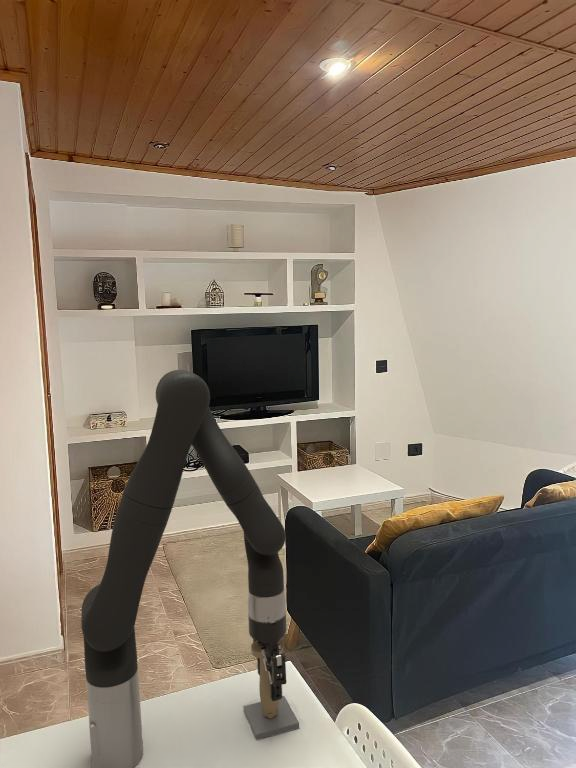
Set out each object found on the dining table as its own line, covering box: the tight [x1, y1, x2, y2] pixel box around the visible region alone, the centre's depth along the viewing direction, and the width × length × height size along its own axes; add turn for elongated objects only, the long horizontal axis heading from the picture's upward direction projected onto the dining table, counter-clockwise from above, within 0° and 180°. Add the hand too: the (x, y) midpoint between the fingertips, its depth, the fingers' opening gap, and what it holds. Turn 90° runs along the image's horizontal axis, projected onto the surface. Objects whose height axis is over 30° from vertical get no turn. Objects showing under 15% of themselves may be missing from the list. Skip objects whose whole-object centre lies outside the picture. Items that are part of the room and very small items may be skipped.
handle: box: [250, 639, 284, 719], centre depth 119 cm, size 5×6×15 cm
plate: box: [242, 695, 300, 741], centre depth 120 cm, size 9×9×1 cm
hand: (269, 686), depth 119 cm, fingers open, 8 cm apart
